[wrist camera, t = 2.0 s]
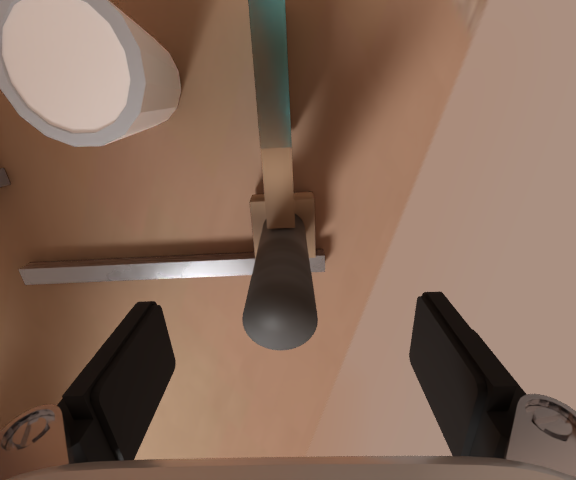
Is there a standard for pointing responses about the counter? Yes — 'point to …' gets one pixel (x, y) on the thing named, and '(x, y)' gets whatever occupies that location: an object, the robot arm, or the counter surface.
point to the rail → (148, 268)
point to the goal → (3, 178)
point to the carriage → (278, 201)
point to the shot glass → (84, 70)
